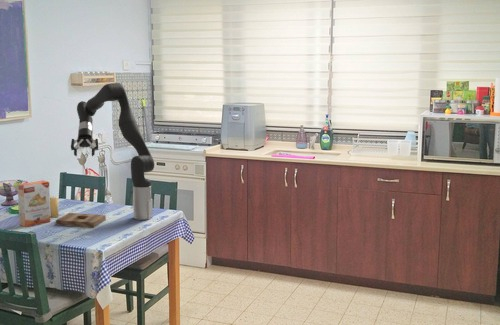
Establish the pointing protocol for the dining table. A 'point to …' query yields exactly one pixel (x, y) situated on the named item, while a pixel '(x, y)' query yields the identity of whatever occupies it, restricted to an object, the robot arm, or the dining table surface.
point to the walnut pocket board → (81, 220)
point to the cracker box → (34, 203)
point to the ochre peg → (54, 207)
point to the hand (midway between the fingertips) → (84, 155)
